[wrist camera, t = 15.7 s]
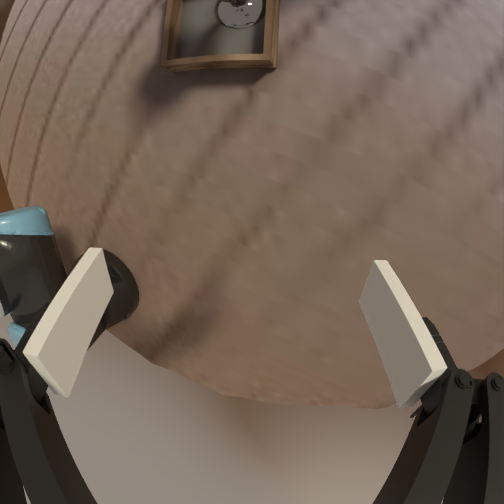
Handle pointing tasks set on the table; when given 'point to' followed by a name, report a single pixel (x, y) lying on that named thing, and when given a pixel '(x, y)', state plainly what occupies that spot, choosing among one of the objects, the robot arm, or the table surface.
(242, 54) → the wooden tray
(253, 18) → the silver goblet
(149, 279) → the table surface
